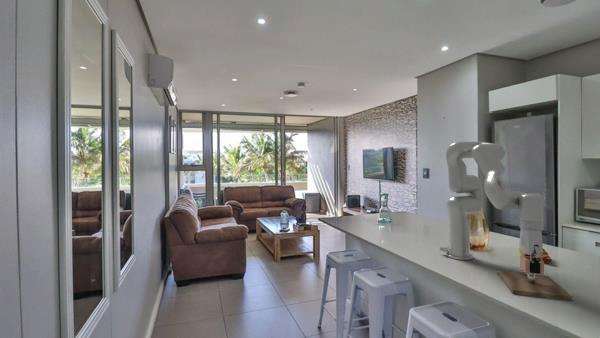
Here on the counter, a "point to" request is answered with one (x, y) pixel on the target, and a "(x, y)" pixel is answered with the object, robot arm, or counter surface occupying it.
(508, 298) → the counter surface
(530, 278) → the steel pin
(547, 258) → the croissant
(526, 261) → the collar block
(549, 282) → the walnut board
